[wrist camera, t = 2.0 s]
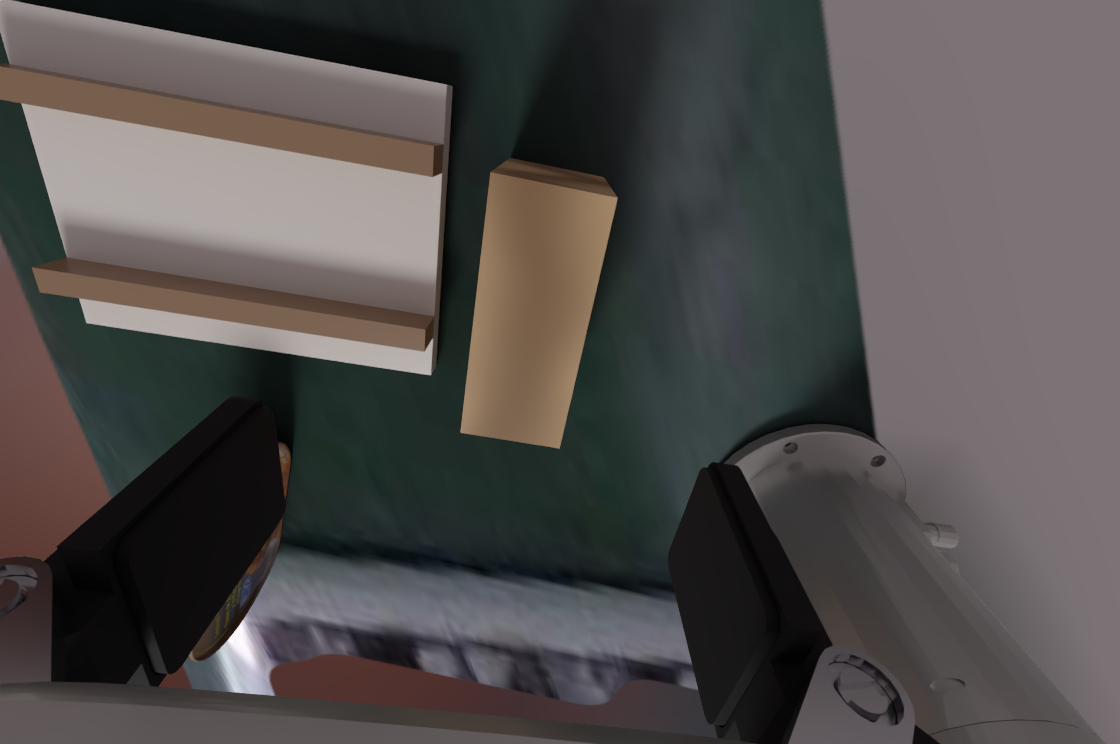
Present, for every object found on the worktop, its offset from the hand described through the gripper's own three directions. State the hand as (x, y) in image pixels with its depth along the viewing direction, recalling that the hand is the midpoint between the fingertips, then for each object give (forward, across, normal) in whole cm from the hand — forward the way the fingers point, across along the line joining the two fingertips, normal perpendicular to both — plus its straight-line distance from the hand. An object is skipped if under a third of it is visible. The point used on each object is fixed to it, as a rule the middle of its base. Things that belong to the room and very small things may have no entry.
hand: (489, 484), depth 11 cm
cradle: (+17, +14, -1) cm, 21 cm away
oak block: (+17, 0, 0) cm, 17 cm away
